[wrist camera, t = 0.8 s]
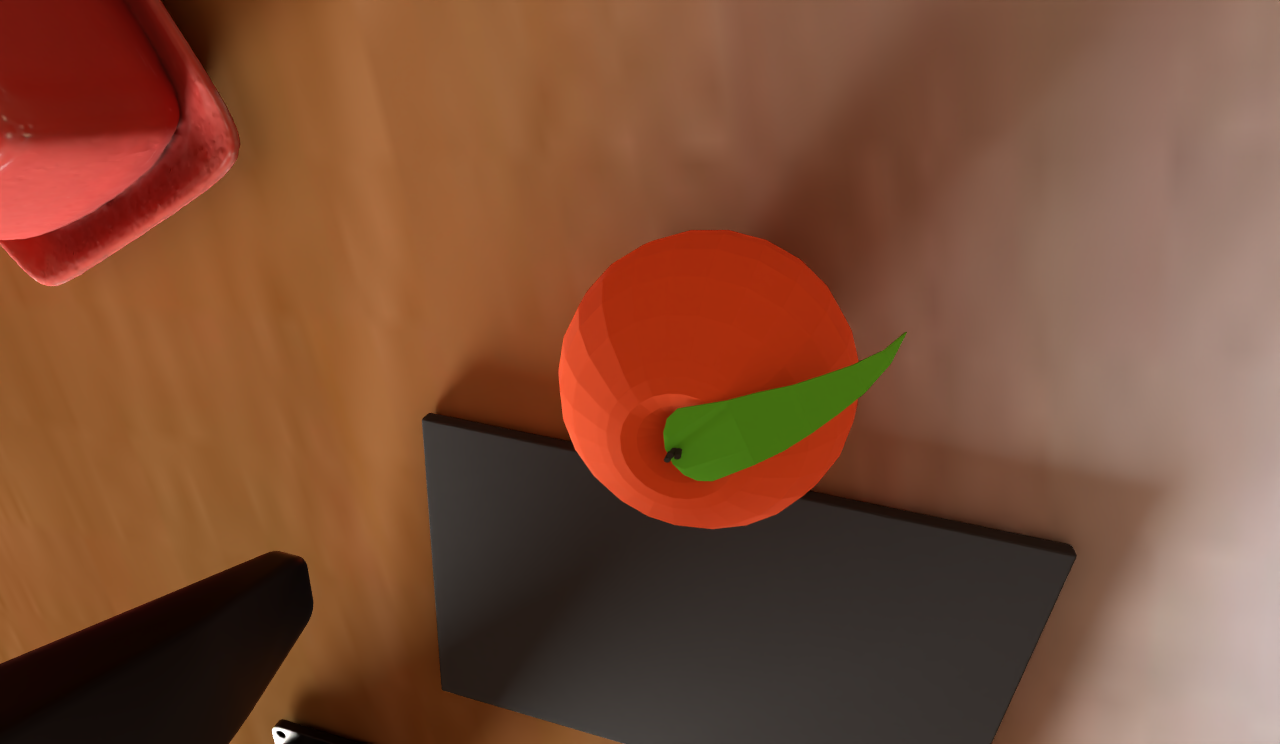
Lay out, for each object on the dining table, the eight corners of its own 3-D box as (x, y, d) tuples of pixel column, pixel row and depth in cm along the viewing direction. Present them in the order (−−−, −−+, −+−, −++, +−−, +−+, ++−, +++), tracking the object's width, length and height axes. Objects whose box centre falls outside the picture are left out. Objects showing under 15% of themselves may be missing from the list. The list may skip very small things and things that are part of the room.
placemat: (447, 680, 28) (441, 690, 28) (429, 411, 23) (421, 418, 22) (946, 825, 25) (948, 839, 24) (1072, 544, 19) (1077, 555, 19)
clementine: (842, 139, 16) (849, 187, 10) (931, 386, 18) (983, 556, 12) (567, 261, 19) (441, 356, 13) (667, 461, 21) (599, 628, 15)
